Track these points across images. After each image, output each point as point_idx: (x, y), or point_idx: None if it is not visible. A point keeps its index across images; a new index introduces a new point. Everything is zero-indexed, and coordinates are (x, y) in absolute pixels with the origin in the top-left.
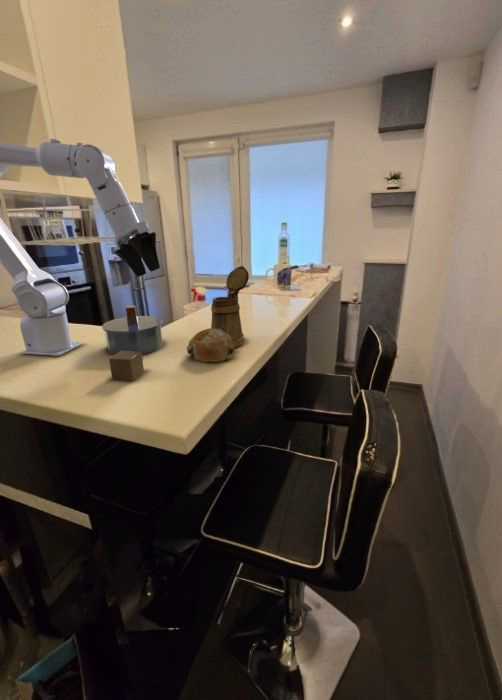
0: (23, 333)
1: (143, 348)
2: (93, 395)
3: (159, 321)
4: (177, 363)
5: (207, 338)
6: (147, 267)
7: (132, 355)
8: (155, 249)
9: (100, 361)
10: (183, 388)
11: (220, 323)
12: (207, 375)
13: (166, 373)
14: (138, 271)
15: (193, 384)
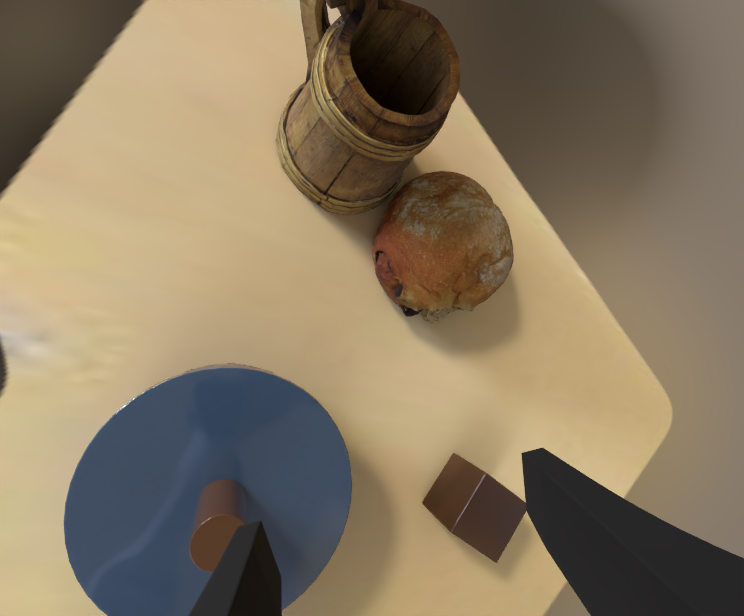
0: None
1: None
2: (518, 564)
3: (260, 382)
4: (439, 359)
5: (503, 268)
6: (548, 549)
7: (504, 499)
8: (689, 540)
9: (318, 576)
10: (566, 380)
11: (407, 162)
12: (535, 312)
13: (485, 399)
14: (272, 601)
15: (559, 356)
